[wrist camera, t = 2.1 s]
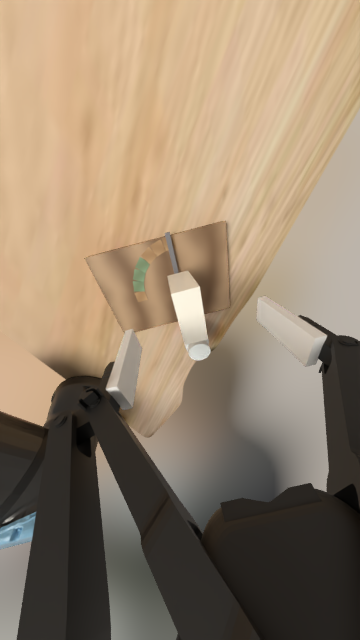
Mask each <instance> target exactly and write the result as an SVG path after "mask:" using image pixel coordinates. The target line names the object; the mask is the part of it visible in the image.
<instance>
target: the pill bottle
mask: <svg viewBox="0 0 360 640" xmlns="http://www.w3.org/2000/svg"><path fill="white" fill-rule="evenodd" d="M185 348H186V350H187V351H188V353H189V356H190V358H191V359H193V360H203V359H205V358H207V357H208V356H209V354H210V347H209V340H208V339H207V340H203V341H199V342H195V343H191V344H187V345H185Z"/></svg>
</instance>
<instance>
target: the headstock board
mask: <svg viewBox="0 0 360 640" xmlns="http://www.w3.org/2000/svg"><path fill="white" fill-rule="evenodd" d="M170 237H171V241H172V246H173V250H174V255H175V259H176V263H177V268H178V272H179V273H180V272H184V271H189V273H190V274H191V275H192V277H193V278H194V279H195V281H196V282H197V283H198V285H199V286H200V291H201V298H202V304H203V310H204V314H208V313H211V312H215V311H219V310H223V309H227V308H230V297H229V276H228V255H227V235H226V221H221V222H217V223H214V224H210V225H206V226H202V227H198V228H195V229H191V230H187V231H183V232H179V233H176V234H172V235H170ZM84 259H85V261H86V262H87V264H88V266H89V268H90V270H91V272H92V274H93V276H94V277H95V279H96V281H97V283H98V285H99V287H100V289H101V291H102V292H103V294H104V296H105V298H106V300H107V302H108V304H109V306H110V307H111V309H112V311H113V313H114V315H115V317H116V319H117V321H118V323H119V324H120V326H121V328H122V330H123V332H124V334H125V331H126V330H130V329H133V330H134V332H138V331H142V330H145V329H149V328H153V327H157V326H161V325H165V324H169V323H173V322H176V321H178V318H177V315H176V311H175V307H174V304H173V300H172V296H171V292H170V287H169V282H168V277H167V276H169V275H173V274H174V270H173V266H172V262H171V258H170V254H169V250H168V245H167V241H166V237H165V236H164V237H160V238H157V239H153V240H149V241H145V242H141V243H138V244H134V245H130V246H126V247H122V248H119V249H115V250H111V251H107V252H103V253H100V254H96V255H92V256H89V257H86V258H84Z"/></svg>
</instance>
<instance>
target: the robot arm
mask: <svg viewBox="0 0 360 640" xmlns="http://www.w3.org/2000/svg"><path fill="white" fill-rule="evenodd" d="M256 320H257V321H258V322H259V323H260V324H261V325H262V326H264V328H266V330H268V331H269V332H270V333H271V334H272V335H273V336H274V337H275V338H276V339H277V340H278V341H279V342H280V343H281V344H282V345H283V346H284V347H285V348H286V349H287V350H289V351H290V352H291V353H292V354H293V355H294V356H295V357H296V358H297V359H298V360H299V361H300V362H301V363H302V364H303V365H304V366H305V367H306V366H310V365H315V364H316V363H317V360H318V359H320V360H321V361H322V362H323V363H322V365H321V367H320V370H319V373H321V371H322V380H323V394H324V407H325V420H326V435H327V448H328V462H329V474H328V478H327V492H324V491H321V490H318V489H314V488H313V486H312V484H311V483H308V484H304V485H300V486H295V487H290V488H288V489H286V490H285V491H284V492H282V493H281V494H280V495H279V496H277V497H276V498H275V499H274V500H272V501H271V502H262V501H256V500H250V499H244V498H241V499H236V500H231V501H227V502H222V503H221V508H220V509H218V510H217V511H216V512H215V513H214V514H213V515H212V517H211V518H210V520H209V521H208V523H207V525H206V527H205V530H204V532H202V531H201V529H200V528H199V526H198V525H197V524H196V522H195V520H194V519H193V518H192V516H191V515H190V513H189V512H188V511H187V509H186V508H185V507H184V506H183V504H182V503H181V502H180V501H179V499H178V497H177V496H176V494H175V493H174V492H173V490H172V489H171V487H170V486H169V484H168V483H167V481H166V480H165V478H164V477H163V475H162V474H161V472H160V471H159V470H158V468H157V467H156V465H155V464H154V462H153V461H152V460H151V458H150V457H149V455H148V454H147V452H146V451H145V449H144V448H143V446H142V445H141V443H140V442H139V441H138V439H137V438H136V436H135V435H134V433H133V432H132V431H131V429H130V427H129V426H128V424H127V423H126V421H125V420H124V419H123V417H122V416H121V414H120V413H119V408H120V407H121V408H122V409H123V410H126V409H130V408H133V404H134V398H135V391H136V384H137V378H138V371H139V365H140V358H141V352H142V347H141V345H140V343H139V341H138V339H137V337H136V335H135V332H134V330H133V329H130V330H126V331H125V334H124V336H123V339H122V342H121V345H120V348H119V351H118V354H117V357H116V360H115V362H110V363H109V364H108V366H107V367H106V369H105V371H104V374H103V376H102V379H99V378H95V377H87V376H81V377H73V378H70V379H67V380H65V381H63V382H62V383H61V384H60V385H59V386H58V387H57V389H56V391H55V392H54V394H53V396H52V400H51V402H52V404H51V406H50V410H49V413H48V417H47V421H46V423H45V424H44V426H43V427H42V426H40V425H37V424H34V423H31V422H28V421H26V420H22V419H20V418H17V417H14V416H12V415H9V414H6V413H4V412H1V411H0V549H4V548H8V547H11V546H15V545H19V544H23V543H26V542H30V541H32V543H31V550H30V556H29V563H28V569H27V576H26V583H25V589H24V595H23V602H22V608H21V615H20V621H19V628H18V635H17V640H111V623H110V606H109V593H108V583H107V572H106V561H105V551H104V541H103V530H102V519H101V509H100V498H99V488H98V477H97V466H96V456H95V451H96V447H97V443H98V441H99V444H100V446H101V448H102V450H103V452H104V455H105V456H106V459H107V461H108V463H109V466H110V468H111V470H112V472H113V474H114V476H115V479H116V481H117V483H118V485H119V488H120V490H121V492H122V494H123V496H124V499H125V501H126V503H127V505H128V507H129V510H130V512H131V514H132V516H133V518H134V520H135V523H136V525H137V527H138V529H139V532H140V535H141V545H142V549H143V552H144V555H145V558H146V560H147V562H148V565H149V567H150V569H151V572H152V574H153V576H154V578H155V581H156V583H157V585H158V588H159V590H160V592H161V595H162V597H163V599H164V602H165V604H166V606H167V608H168V611H169V613H170V615H171V617H172V620H173V622H174V625H175V627H176V629H177V631H178V635H177V639H176V640H360V341H358V340H357V339H355V338H352V337H349V336H342V335H339V336H337V335H335V334H333V333H332V332H330V331H329V330H327V329H326V328H324V327H322V326H321V325H319V324H317V323H316V322H314V321H312V320H311V319H309V318H307V317H304V316H301V315H300V316H296V315H295V314H293V313H292V312H290V311H288V310H287V309H285V308H284V307H282V306H281V305H279V304H277V303H276V302H274V301H273V300H271V299H270V298H268V297H266V296H262V297H258V302H257V318H256Z"/></svg>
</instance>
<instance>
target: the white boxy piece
mask: <svg viewBox="0 0 360 640" xmlns="http://www.w3.org/2000/svg"><path fill="white" fill-rule="evenodd" d="M165 237H166V241H167V245H168V250H169V254H170V258H171V262H172V266H173V270H174V274H173V275H169V276H167V277H168V282H169V287H170V292H171V296H172V300H173V304H174V307H175V311H176V315H177V318H178V322H179V326H180V329H181V333H182V337H183V340H184V344H185V345H187V344H191V343H195V342H199V341H203V340H207V339H208V336H207V330H206V323H205V317H204V310H203V304H202V298H201V291H200V286H199V285H198V283H197V282H196V281H195V279H194V278H193V277H192V275H191V274H190V273H189V271H184V272H180V273H179V272H178V268H177V263H176V259H175V255H174V250H173V246H172V241H171V237H170V232H167V233H165Z"/></svg>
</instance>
